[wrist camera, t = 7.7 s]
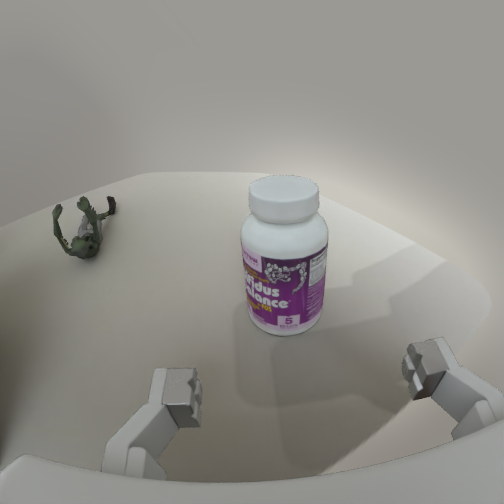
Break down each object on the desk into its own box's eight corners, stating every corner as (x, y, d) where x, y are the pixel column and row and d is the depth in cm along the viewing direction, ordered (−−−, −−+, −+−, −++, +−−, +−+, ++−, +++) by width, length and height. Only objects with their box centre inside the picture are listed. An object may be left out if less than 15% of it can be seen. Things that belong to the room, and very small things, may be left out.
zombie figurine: (107, 164, 38) (85, 211, 26) (118, 210, 42) (105, 273, 30) (70, 173, 37) (35, 223, 25) (83, 218, 41) (59, 282, 28)
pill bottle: (234, 325, 22) (216, 197, 17) (267, 282, 26) (260, 167, 21) (307, 348, 20) (313, 212, 15) (331, 298, 24) (340, 176, 19)
